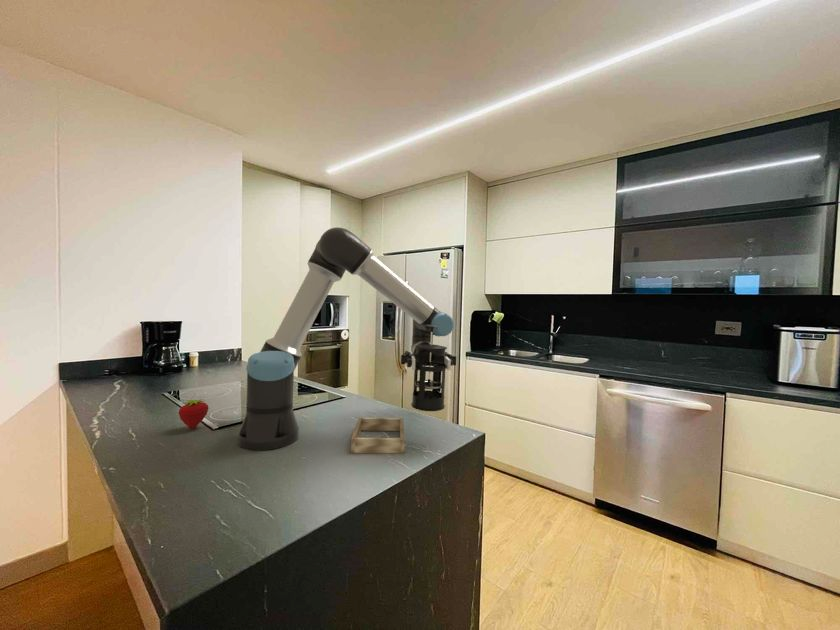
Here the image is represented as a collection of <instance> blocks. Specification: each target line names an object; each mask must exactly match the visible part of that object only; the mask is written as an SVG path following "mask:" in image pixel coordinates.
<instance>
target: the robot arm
mask: <svg viewBox="0 0 840 630" xmlns="http://www.w3.org/2000/svg"><path fill="white" fill-rule="evenodd" d="M307 266H308V269H309V270H308V272H307V273H306V276H305V277H304V279H303V282H302V284H301V285H300V287H299V288H298V291H297V293H296V294H295V296H294V298H293V301H292V302H291V303H290V306H289V308H288V309H287V311H286V313H285V316H284V317H283V319H282V320H281V322H280V324H279V327H278V329H277V331H276V332H275V334H274V335H273V337H272V338H269V339H267V340H265V342H264V344H263V346H262V347H261V350H260V351H259V352H256V353H253V354H251V355H250V356H249V357H248V360H247V364H246V373H247V374H246V375H247V376H246V377H247V379H246V380H247V381H246V410H245V415H244V419H243V421H242V423H241V427H240V429H239V432H238V435H237V444H238V446H239V447H241V448H243V449H246V450H252V451H266V450H267V451H269V450H274V449H280V448H283V447H285V446H288V445H290V444H292V443H294V442H296V441H297V440H298V439H299V435H300V434H299V433H300V428H299V425H298V421H297V419H296V415H295V412H294V409H293V408H294V406H293V404H294V379H295V377H294V376H295V375H294V373H295V370H296V369H297V366H298V364H299V362H300V360H301V358H302V355H303V354H302V351H301V347H302V345H303V344H304V342H305V340H306V337H307V336H308V334H309V332H310V331H311V329H312V326H313V324H314V322H315V320H316V319H317V317H318V314H319V312H320V311H321V308H322V306H323V305H324V303H325V301H326V299H327V297H328V295H329V293H330V291H331V289H332V287H333V285H334V283H335V282H339V281H341V280H342V278H343V276H344V274H345V273H346V271H347V272H348V273H349V274H351V275H352V276H353V275H357V276H359V277H360V278H361V279H362V280H364V281H365V282H366V283H368V284H369V285H370V286H371V287H372V288H373V289H375V290H376V291H377V292H379V293H380V294H381V295H383V296H384V298H386V299H388V300H389V301H390V302H391V303H393V304H394V305H395V306H396V307H397V308H399V309H400V310H401V311H402V312H404V313H405V314H406V315H408V316H409V317H410V318H411V319H412V337H411V339H412V340H411V346H410V347H411V349H410V350H411V352H410V351H408V350H406V351H404V353H403V354H401V356H400V364H401V365H406V367H407V368H411V370H415V362H419V361H430V352H420V353H418V354H416V349H417V348H415V346H416V345H424V344H431V332H430V327H426V326H425V325H437V326H439V327H434V330H433V332H432V345H434V344H433V343H434V339H433V338H434V336H435V337H438V338H439V337H446V336H449V335H450V334H451V333H452V331H453V330H454V325H455V324H454V319H453V318H452V316H451V315H450V314H448V313H445V312H442V311H440V309H438V308H437V307H435V306H434V305H433V304H432V303H431V302H430V301H428V300H427V299H426V298H425V297H423V296H422V295H421V294H420V293H419V292H417V291H416V289H414V288H413V287H412V286H411V285H409V284H408V283H407V282H406V281H405V280H404V279H402V278H401V277H400V276H399V275H397V274H396V273H395V272H394V271H393V270H392V269H391V268H389V267H388V266H387V265H386V264H384V263H383V262H382V261H381V260H380V259H378V257H376V256H375V255H374V249H372V248H371V247H370V246H368V245H367V244H366V243H365V242H364V241H363V240H361V238H359V237H358V236H357V235H356V234H354V233H353V232H352V231H350V230H348V229H346V228H344V227H332V228H329V229H327V230H325V231H324V233H323V234H322V235H321V236H320V238H319V240H318V241H317V243H316V245H315V248H314V250H313V252H312V253H311V255H310V257H309V259H308V260H307ZM431 361H432V362H442V363H444V364H446V370H447V371H451V370H452V369H451V367H452V366H457V356H455V355H452V354H450V353H449V352H447V351H445V356H439V357H438V356H435V355H433V354H432V353H431Z"/></svg>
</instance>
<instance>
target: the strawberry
mask: <svg viewBox="0 0 840 630" xmlns="http://www.w3.org/2000/svg"><path fill="white" fill-rule="evenodd" d="M194 397H195V395H193V396H192V398H191V399H188V400H187V401H186V402H182V404H181V407H180V408H179V409H178V416H179V419H180V420H181V421H182V423H183V424H184V425H186V426H187V427H188V428H189V429H190V430H194V429H196V428H197V427H198V425H199V424H200V423H201V422H202V421H203V420H204V418H206V416H207V414H208V411H209V408H210V407H209V405H208V404H207V403H206V402H205V400H203V398H201V399H194V400H193V398H194Z"/></svg>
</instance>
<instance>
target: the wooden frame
mask: <svg viewBox="0 0 840 630" xmlns="http://www.w3.org/2000/svg"><path fill="white" fill-rule="evenodd" d="M362 431H380V432H381V431H383V432H384V431H385V432H386V431H389V432H390V431H391V432H393V431H394V432H399V437H360V436H361V432H362ZM354 453H355V454H404V453H405V424H404V418H402V417H400V418H399V417H358V419H357V421H356V424H355V427H354V430H353V433H352V436H351V439H350V454H354Z"/></svg>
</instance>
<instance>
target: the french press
mask: <svg viewBox="0 0 840 630" xmlns="http://www.w3.org/2000/svg"><path fill="white" fill-rule="evenodd" d="M425 326H426V327H430V332H431V344H424V345H416V346H415V348H417V349H416V354H418V353H420V352H430V361H419V362H415V370H414V374H413V390H412V391H413V392H412V398H411V399H412V402H411V408H413V409H415V410H418V411H423V412H438V411H442V410H444V409H445V407H446V406H445V388H446V387H445V386H446V385H445V384H446V370H447V369H446V364H444V363H442V362H432V361H431V353H432V354H433V355H435V356H438V357H439V356H445V352H446V350H447V349H448V347H447V346H443V345H438V344H433V345H432V332H433V330H434V327H439V326H437V325H425ZM426 372H428V378H427V379H426V374H427V373H426ZM431 372H432V373H433V374H432V380H431ZM418 374H419V375H418ZM418 376H419V380H418Z"/></svg>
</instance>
